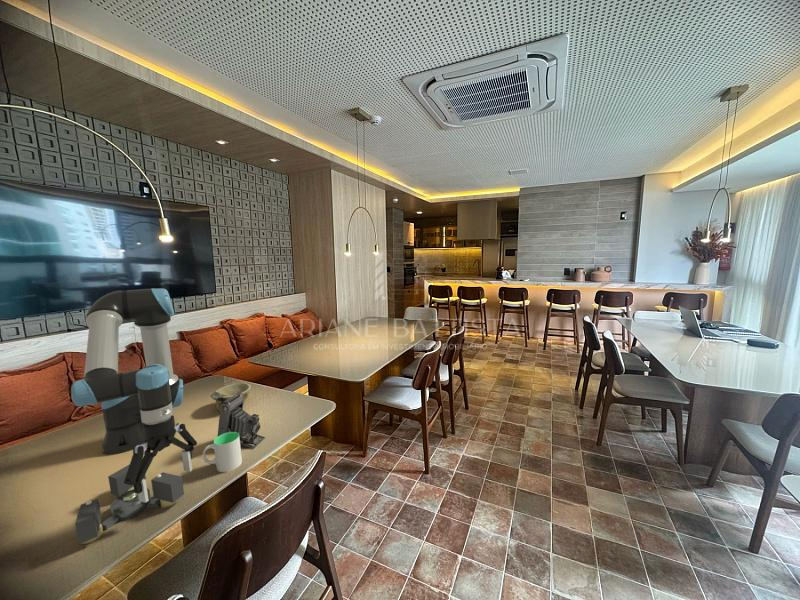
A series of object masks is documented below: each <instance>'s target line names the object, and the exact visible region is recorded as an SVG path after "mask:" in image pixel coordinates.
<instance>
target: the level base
mask: <svg viewBox="0 0 800 600" xmlns="http://www.w3.org/2000/svg"><path fill="white" fill-rule="evenodd" d="M147 493H148V500H149V501H148V502H146V503H145V502H141V501H139V497H138V493H135V492H134V489H133V490H130V491H127V492H125V493H123V494H122V495H120V496H117V497H116V498H115V499H113V501H112V502H111V503H110V507H109V508H110V512H111V516H110V517H108V518H107V519H105V520H104V521H101V523H100V524H102V529H104V530H106V531H107V530H108V529H110V528H111V527H112V526H114V525H115V524H117V523H119V522H124V521H127V520H131V519H133V518H135V517H137V516H139V515H140V514H142V513H143V512H145V511H146V510H147V509H151V508H152V509H153V508H158V507H159V506H160V505H161V502H160V499H157V498H152V497H151V491H150V489H149V488H148V487H147Z"/></svg>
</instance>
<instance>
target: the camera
mask: <svg viewBox="0 0 800 600" xmlns="http://www.w3.org/2000/svg"><path fill="white" fill-rule="evenodd" d="M241 394H242V393H241V392H238V393H237V394H235V395H233V396H232V397H230V398H229V399H228V400H226V401H224V403H223V404H220V411H219V418H218V425H217V427H218V428H217V435H216V438H217V437H218V436H220V435H222V434H224V433H228V432H237V433H239V438H240V446H243V447H247V448H250V449H256V448H257V447H258V445H259V444H261V443H262V441H264V439H266V436H263V435H260V434H258V433H259V431H260V429H261V422H260V417H259V416H260V415H259V414H258V413H253V414H249V413H248V412H247V411H246V410H244V402H245V401H244V397H243V395H241Z"/></svg>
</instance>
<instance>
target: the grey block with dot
mask: <svg viewBox="0 0 800 600" xmlns="http://www.w3.org/2000/svg"><path fill="white" fill-rule="evenodd" d="M129 465H130V463H129V464H128V465H126V466H124V467H122V468H120V469H119V470H117V471H115V472H113V473H111V474H110V475H109V476H108V477H107V478H108V485H109V489H110V494H111V495H113V496H117V497H119V496H120V495H122V494H123V493H125V492H127V491H130V490H133V489H134V486H133V485H128V484H124V480H125V477H126V474H127V471H128V468H129ZM143 479H145V480H146V479H147V476H146V474H145V476H144V477H143Z"/></svg>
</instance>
